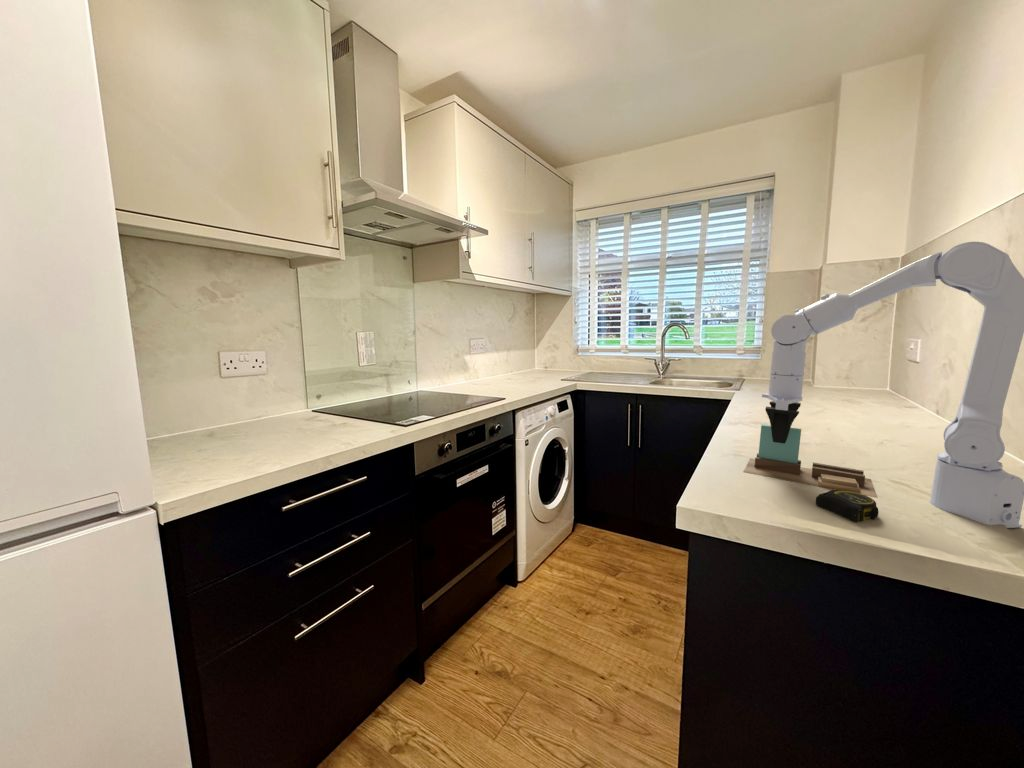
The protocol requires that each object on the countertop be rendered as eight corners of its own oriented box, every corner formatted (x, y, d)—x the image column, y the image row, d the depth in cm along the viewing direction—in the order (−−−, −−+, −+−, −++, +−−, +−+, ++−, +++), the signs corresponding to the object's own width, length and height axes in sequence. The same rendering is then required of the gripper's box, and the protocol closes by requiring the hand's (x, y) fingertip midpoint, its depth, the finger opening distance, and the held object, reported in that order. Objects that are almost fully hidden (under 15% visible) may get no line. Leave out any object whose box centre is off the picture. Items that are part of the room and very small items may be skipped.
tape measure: (811, 510, 70) (814, 490, 69) (844, 507, 71) (846, 486, 71) (852, 530, 63) (855, 507, 63) (887, 525, 65) (890, 503, 64)
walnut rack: (876, 502, 73) (878, 486, 72) (742, 476, 85) (744, 462, 85) (870, 483, 82) (872, 469, 81) (749, 462, 94) (750, 449, 94)
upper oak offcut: (857, 487, 75) (857, 483, 75) (821, 481, 78) (822, 477, 78) (854, 483, 77) (855, 479, 77) (820, 477, 80) (820, 473, 80)
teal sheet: (796, 472, 85) (801, 430, 83) (757, 465, 89) (761, 425, 88) (796, 470, 86) (801, 429, 85) (758, 463, 90) (762, 424, 89)
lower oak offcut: (858, 493, 75) (859, 488, 74) (818, 485, 78) (818, 481, 78) (857, 487, 77) (858, 483, 77) (817, 480, 81) (818, 476, 80)
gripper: (767, 370, 93) (762, 428, 95) (760, 376, 81) (754, 442, 83) (805, 372, 89) (799, 433, 90) (803, 379, 77) (796, 449, 79)
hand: (780, 438), depth 86 cm, fingers open, 7 cm apart
